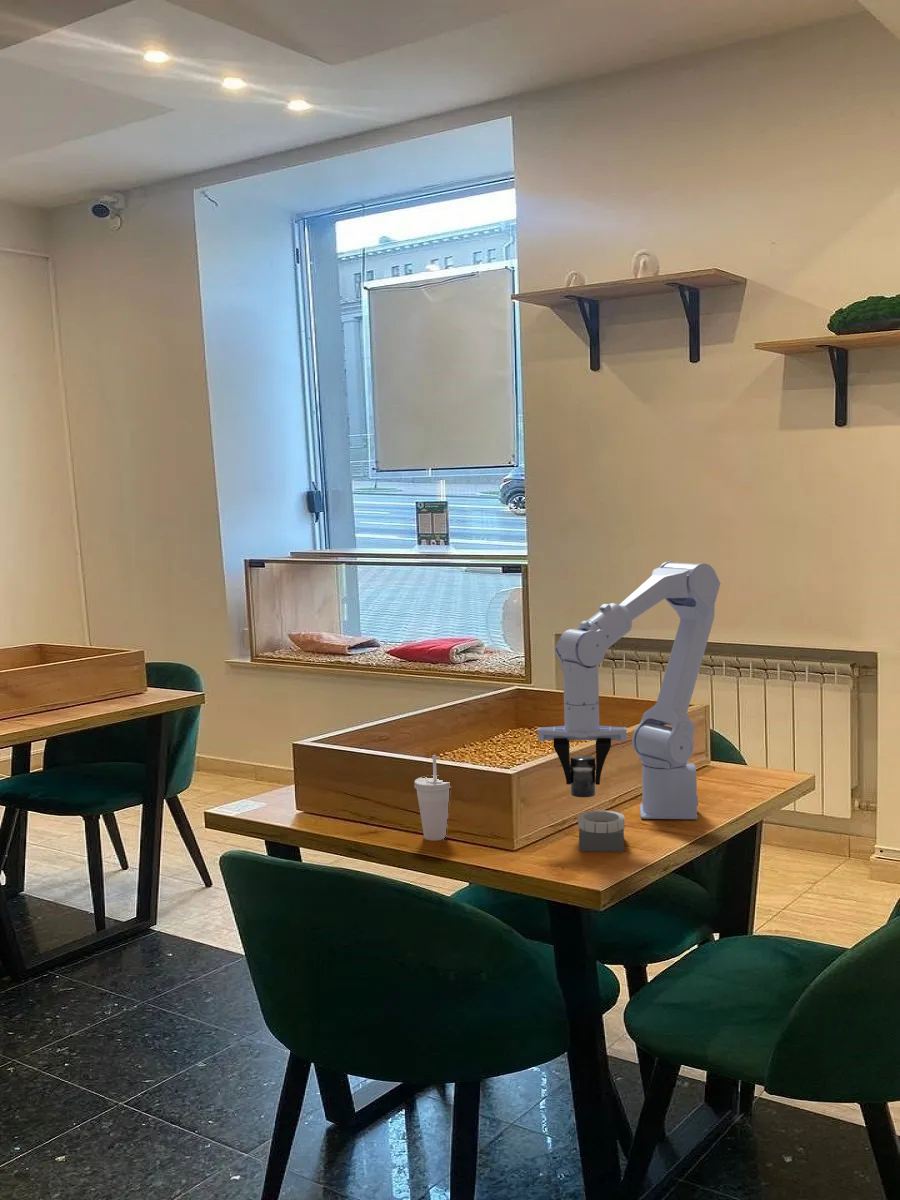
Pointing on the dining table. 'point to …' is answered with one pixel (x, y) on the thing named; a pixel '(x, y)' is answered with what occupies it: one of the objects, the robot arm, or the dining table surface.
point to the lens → (582, 776)
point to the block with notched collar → (601, 831)
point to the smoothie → (433, 805)
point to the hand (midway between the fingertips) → (583, 783)
